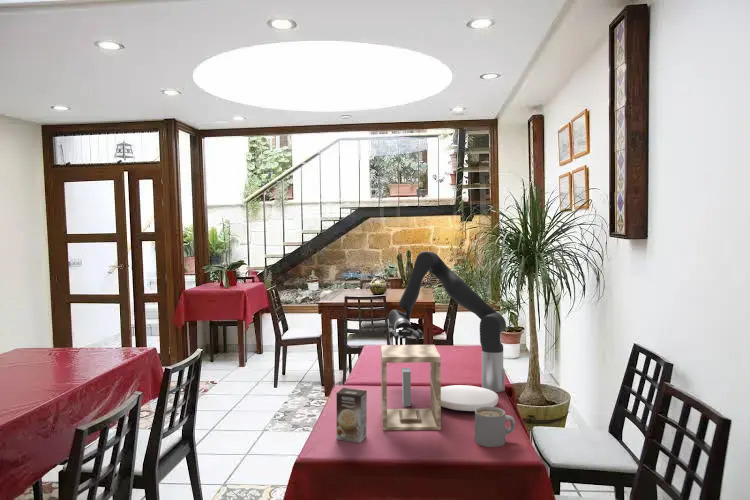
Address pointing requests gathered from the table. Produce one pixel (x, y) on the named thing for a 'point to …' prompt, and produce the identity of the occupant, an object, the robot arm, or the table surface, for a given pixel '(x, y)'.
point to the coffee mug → (492, 426)
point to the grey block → (406, 387)
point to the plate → (467, 397)
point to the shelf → (430, 417)
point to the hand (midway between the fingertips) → (407, 338)
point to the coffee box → (351, 415)
